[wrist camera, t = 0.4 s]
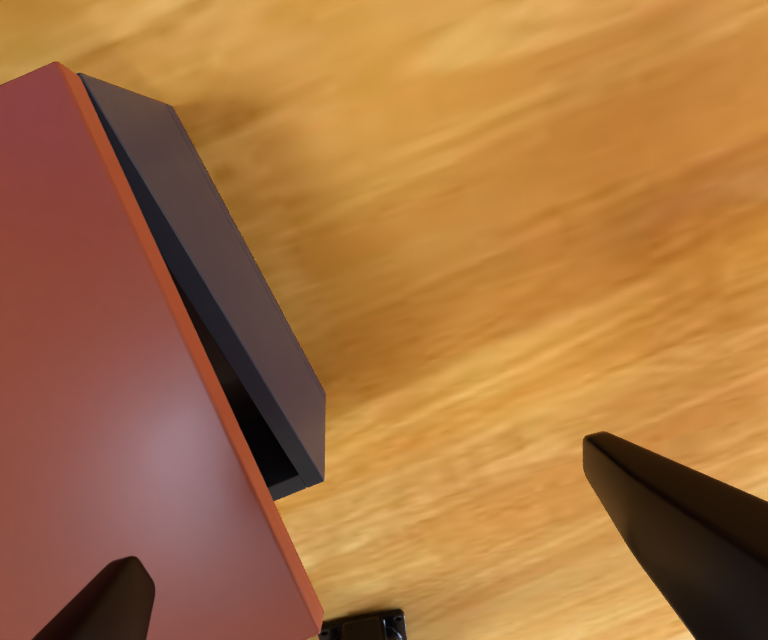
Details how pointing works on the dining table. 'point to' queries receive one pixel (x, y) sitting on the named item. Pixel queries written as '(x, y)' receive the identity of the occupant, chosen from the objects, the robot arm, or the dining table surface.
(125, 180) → the lid
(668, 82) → the dining table surface
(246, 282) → the box
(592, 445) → the robot arm
